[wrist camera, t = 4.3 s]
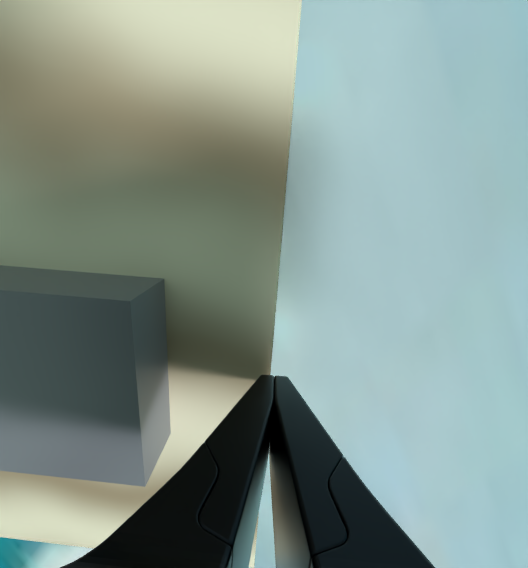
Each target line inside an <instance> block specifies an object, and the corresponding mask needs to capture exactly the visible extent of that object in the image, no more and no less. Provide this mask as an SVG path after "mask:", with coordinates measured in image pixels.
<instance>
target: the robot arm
mask: <svg viewBox="0 0 528 568" xmlns="http://www.w3.org/2000/svg"><path fill="white" fill-rule="evenodd" d="M269 444H270V447H269ZM268 454H269V459H270V477H271V494H272V510H273V527H274V544H275V560H276V568H435V567H434V566H433V565H432V564H431V562H430V561H429V560H428V559H427V558H426V557H425V555H424V554H423V553H422V552H421V551H420V550H419V548H418V547H417V546H416V545H415V544H414V543H413V541H412V540H411V539H410V538H409V537H408V536H407V535H406V533H405V532H404V531H403V530H402V529H401V528H400V526H399V525H398V524H397V523H396V522H395V521H394V519H393V518H392V517H391V516H390V515H389V514H388V512H387V511H386V510H385V509H384V508H383V507H382V505H381V504H380V503H379V502H378V500H377V499H376V498H375V497H374V496H373V494H372V493H371V492H370V491H369V490H368V488H367V487H366V486H365V484H364V483H363V482H362V480H361V479H360V478H359V476H358V475H357V474H356V472H355V471H354V470H353V468H352V467H351V465H350V464H349V463H348V461H347V460H346V458H345V457H343V454H342V453H341V452H340V450H339V449H338V447H337V446H336V444H335V443H334V442H333V440H332V439H331V437H330V436H329V435H328V433H327V432H326V430H325V429H324V428H323V426H322V425H321V423H320V422H319V420H318V419H317V418H316V416H315V415H314V413H313V412H312V411H311V409H310V408H309V406H308V405H307V404H306V402H305V401H304V399H303V398H302V396H301V395H300V394H299V392H298V391H297V389H296V388H295V387H294V385H293V384H292V382H291V381H290V380H289V378H288V377H285V376H275V377H274V376H273V375H264V374H262V375H260V376H259V378H258V379H257V380H256V381H255V382H254V384H253V385H252V386H251V387H250V388H249V389H248V391H247V392H246V393H245V394H244V395H243V397H242V398H241V399H240V400H239V401H238V402H237V404H236V405H235V406H234V407H233V408H232V410H231V411H230V412H229V413H228V414H227V415H226V417H225V418H224V419H223V420H222V421H221V423H220V424H219V425H218V426H217V427H216V428H215V430H214V431H213V432H212V433H211V434H210V435H209V437H208V438H207V439H206V440H205V442H204V443H203V444H202V445H201V446H200V447H199V448H198V449H197V451H196V452H195V453H194V454H193V455H192V456H191V458H190V459H189V460H188V461H187V462H186V463H185V464H184V465H183V466H182V467H181V469H180V470H179V471H178V472H177V473H176V474H174V475H173V476H172V477H171V478H170V479H169V480H168V481H167V482H166V483H165V484H164V485H163V486H162V487H161V488H160V489H159V490H158V491H157V492H156V493H155V494H154V495H153V496H152V497H151V498H150V499H148V500H147V501H146V502H145V503H144V504H143V505H142V506H141V507H140V508H139V509H138V510H137V511H136V512H135V513H134V514H133V515H131V516H130V517H129V518H128V519H127V520H126V521H125V522H124V523H123V524H122V525H121V526H120V527H119V528H118V529H117V530H115V531H114V532H113V533H112V534H111V535H110V536H109V537H108V538H107V539H106V540H104V541H103V542H102V543H101V544H99V545H98V546H97V547H96V548H94V549H93V550H91V551H90V552H88V553H87V554H86V555H84V556H83V557H81V558H79V559H77V560H76V561H74V562H72V563H70V564H67V565H65V566H63V567H60V568H249V562H250V557H251V551H252V545H253V540H254V534H255V528H256V523H257V517H258V512H259V506H260V500H261V495H262V489H263V484H264V478H265V472H266V467H267V461H268Z"/></svg>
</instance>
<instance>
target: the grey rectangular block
mask: <svg viewBox="0 0 528 568" xmlns="http://www.w3.org/2000/svg"><path fill="white" fill-rule="evenodd" d="M170 434H171V428H170V404H169V380H168V356H167V332H166V308H165V284H164V279H163V278H151V277H138V276H126V275H114V274H101V273H89V272H77V271H64V270H52V269H40V268H27V267H15V266H3V265H0V471H7V472H16V473H25V474H34V475H43V476H52V477H61V478H70V479H79V480H88V481H97V482H106V483H115V484H124V485H133V486H142V487H145V486H146V484H147V482H148V480H149V478H150V476H151V474H152V472H153V470H154V468H155V465H156V463H157V461H158V459H159V457H160V455H161V453H162V451H163V449H164V447H165V444H166V442H167V440H168V438H169V436H170Z"/></svg>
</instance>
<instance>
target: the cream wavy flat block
mask: <svg viewBox="0 0 528 568" xmlns="http://www.w3.org/2000/svg"><path fill="white" fill-rule="evenodd" d="M301 3H302V0H0V265H3V266H15V267H27V268H40V269H52V270H64V271H77V272H89V273H101V274H114V275H126V276H138V277H151V278H163V279H164V284H165V308H166V332H167V356H168V380H169V404H170V428H171V434H170V436H169V438H168V440H167V442H166V444H165V447H164V449H163V451H162V453H161V455H160V457H159V459H158V461H157V463H156V465H155V468H154V470H153V472H152V474H151V476H150V478H149V480H148V482H147V484H146V486H145V487H142V486H133V485H124V484H115V483H106V482H97V481H88V480H79V479H70V478H61V477H52V476H43V475H34V474H25V473H16V472H7V471H0V537H4V538H13V539H21V540H29V541H38V542H46V543H54V544H62V545H71V546H79V547H87V548H96V547H97V546H98V545H99V544H101V543H102V542H103V541H104V540H106V539H107V538H108V537H109V536H110V535H111V534H112V533H113V532H114V531H115V530H117V529H118V528H119V527H120V526H121V525H122V524H123V523H124V522H125V521H126V520H127V519H128V518H129V517H130V516H131V515H133V514H134V513H135V512H136V511H137V510H138V509H139V508H140V507H141V506H142V505H143V504H144V503H145V502H146V501H147V500H148V499H150V498H151V497H152V496H153V495H154V494H155V493H156V492H157V491H158V490H159V489H160V488H161V487H162V486H163V485H164V484H165V483H166V482H167V481H168V480H169V479H170V478H171V477H172V476H173V475H174V474H176V473H177V472H178V471H179V470H180V469H181V467H182V466H183V465H184V464H185V463H186V462H187V461H188V460H189V459H190V458H191V456H192V455H193V454H194V453H195V452H196V451H197V449H198V448H199V447H200V446H201V445H202V444H203V443H204V442H205V440H206V439H207V438H208V437H209V435H210V434H211V433H212V432H213V431H214V430H215V428H216V427H217V426H218V425H219V424H220V423H221V421H222V420H223V419H224V418H225V417H226V415H227V414H228V413H229V412H230V411H231V410H232V408H233V407H234V406H235V405H236V404H237V402H238V401H239V400H240V399H241V398H242V397H243V395H244V394H245V393H246V392H247V391H248V389H249V388H250V387H251V386H252V385H253V384H254V382H255V381H256V380H257V379H258V378H259V376H260V375H262V374H264V375H270V371H271V359H272V347H273V336H274V324H275V312H276V300H277V288H278V276H279V264H280V252H281V241H282V229H283V217H284V205H285V193H286V181H287V169H288V158H289V146H290V134H291V122H292V110H293V98H294V86H295V74H296V63H297V51H298V39H299V27H300V15H301ZM258 514H259V512H258ZM257 525H258V517H257V523H256V528H255V534H254V540H253V545H252V551H251V557H250V562H249V567H253V568H254V561H255V549H256V537H257Z"/></svg>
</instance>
